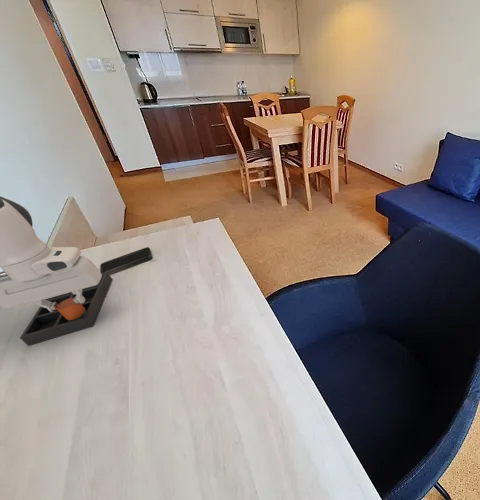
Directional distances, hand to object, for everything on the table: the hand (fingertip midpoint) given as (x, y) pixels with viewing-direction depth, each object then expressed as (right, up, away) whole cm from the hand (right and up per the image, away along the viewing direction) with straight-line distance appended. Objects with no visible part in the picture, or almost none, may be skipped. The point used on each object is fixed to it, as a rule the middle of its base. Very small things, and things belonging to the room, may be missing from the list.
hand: (68, 306), depth 79 cm
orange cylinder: (0, -3, +2) cm, 3 cm away
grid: (-5, -2, +8) cm, 10 cm away
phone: (-3, +10, +25) cm, 27 cm away
